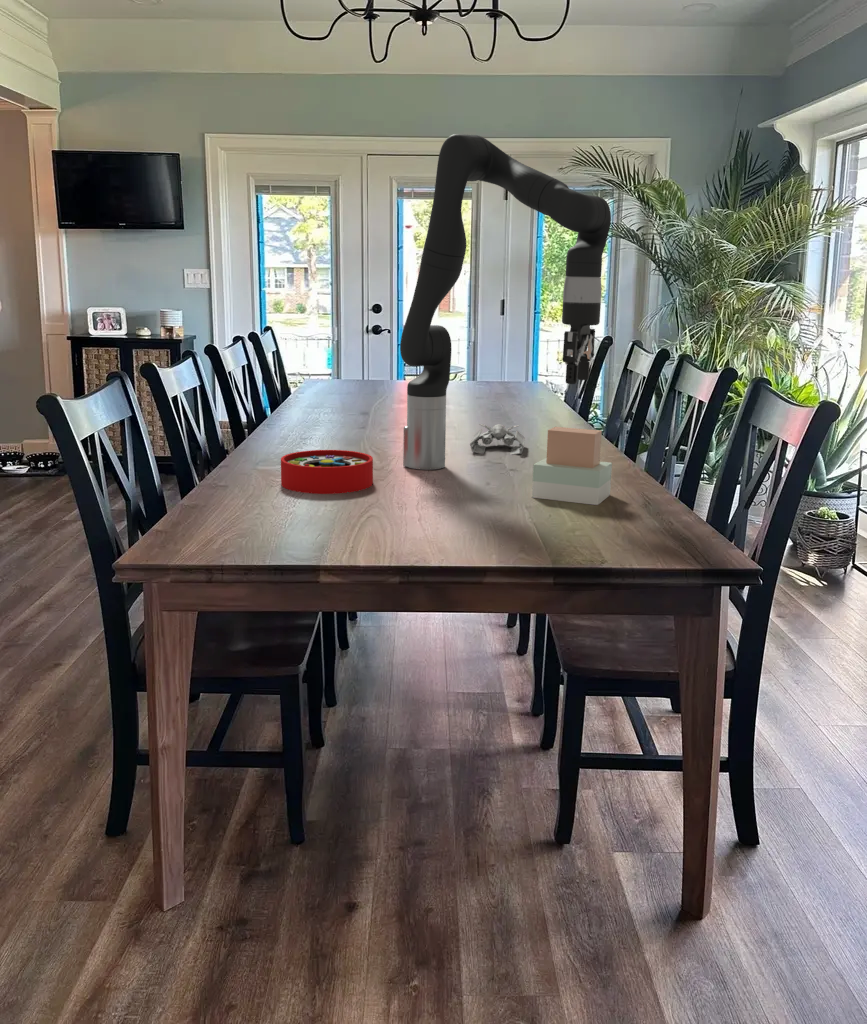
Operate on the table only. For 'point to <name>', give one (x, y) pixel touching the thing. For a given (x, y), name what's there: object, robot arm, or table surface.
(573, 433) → the terracotta brick
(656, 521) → the table surface
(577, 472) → the green and white block
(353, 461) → the toy clock
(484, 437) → the spaceship toy
